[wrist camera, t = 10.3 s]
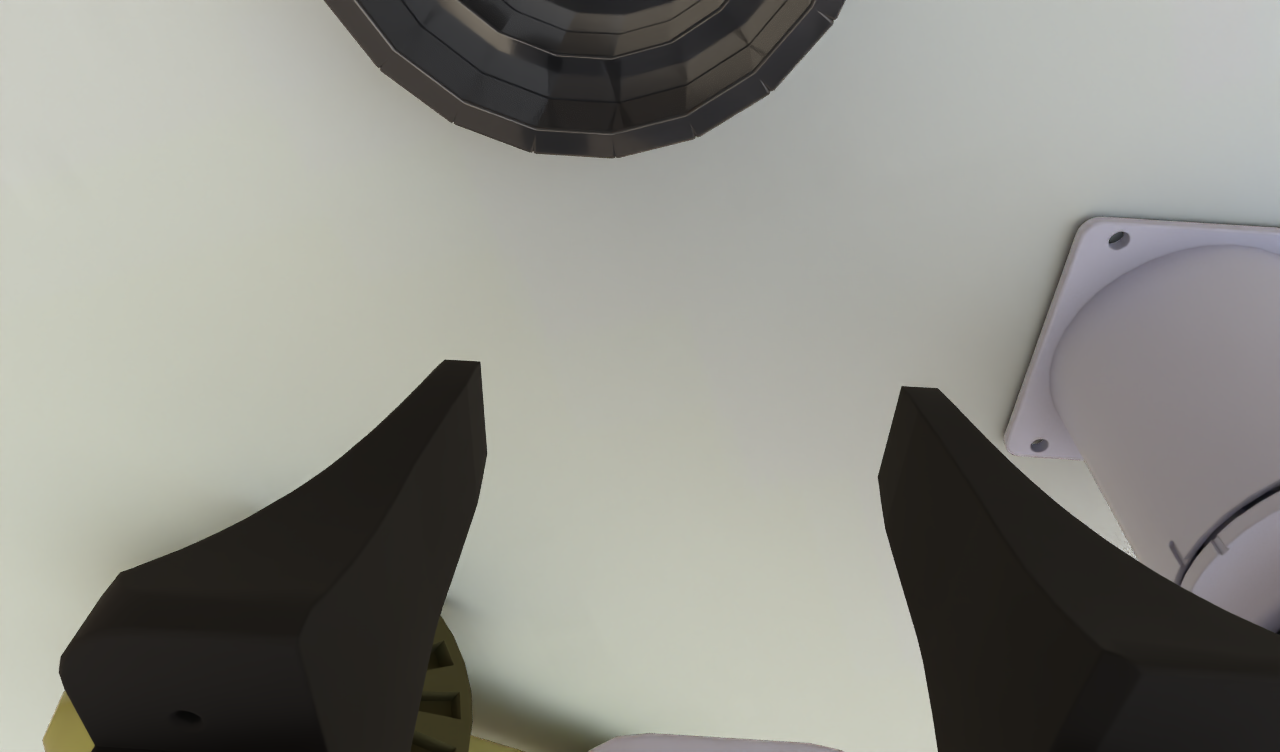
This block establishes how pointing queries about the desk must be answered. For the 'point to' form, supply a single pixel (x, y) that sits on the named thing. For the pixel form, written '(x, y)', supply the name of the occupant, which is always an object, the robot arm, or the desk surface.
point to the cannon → (440, 724)
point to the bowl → (587, 64)
